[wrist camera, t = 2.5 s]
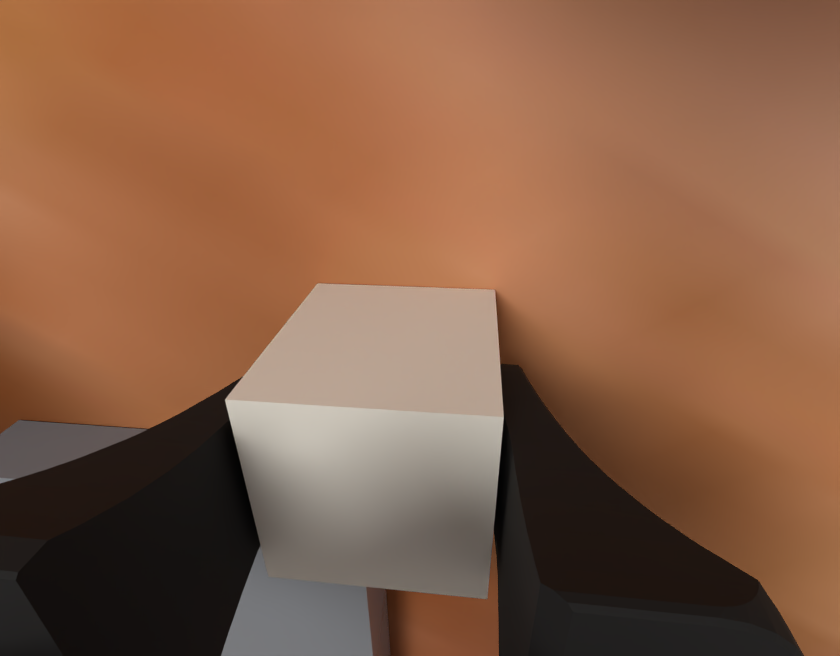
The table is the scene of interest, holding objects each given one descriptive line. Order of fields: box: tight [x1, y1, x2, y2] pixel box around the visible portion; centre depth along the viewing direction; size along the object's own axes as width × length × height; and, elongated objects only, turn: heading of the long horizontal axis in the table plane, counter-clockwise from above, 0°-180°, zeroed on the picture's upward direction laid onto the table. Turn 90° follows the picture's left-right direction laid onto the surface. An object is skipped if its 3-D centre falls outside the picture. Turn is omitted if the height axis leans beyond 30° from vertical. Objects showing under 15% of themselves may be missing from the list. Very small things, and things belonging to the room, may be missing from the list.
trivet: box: [0, 420, 391, 656], centre depth 17 cm, size 12×12×2 cm
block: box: [225, 283, 504, 599], centre depth 11 cm, size 4×4×5 cm
